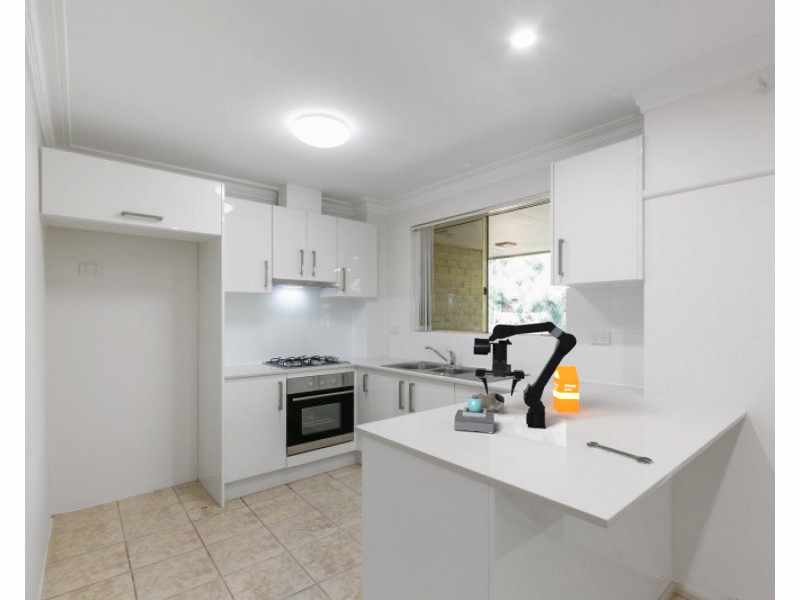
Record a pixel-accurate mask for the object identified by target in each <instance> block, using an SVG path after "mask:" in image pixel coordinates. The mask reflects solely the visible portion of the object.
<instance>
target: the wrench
mask: <svg viewBox="0 0 800 600" xmlns="http://www.w3.org/2000/svg"><path fill="white" fill-rule="evenodd" d="M586 447H588V448H592V449H599V450H601V451H604V450H605V452H608V453H611V452H612V454H614V453H615V454H614V455H617V454H618V456H620V455H621V456H620V457H625V458H627V459H631V460H634V461H636V462H637V463H638V464H642V465H650V464H653V460H652V459H651V458H650V457H647V456H639V455H636V454H632V453H629V452H626V451H625V452H624V451H622V450H618V449H616V448H612V447H609V446H606V445H602V444H600V443H599V442H595V441H589V442H586Z"/></svg>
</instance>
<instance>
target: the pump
mask: <svg viewBox="0 0 800 600" xmlns="http://www.w3.org/2000/svg"><path fill="white" fill-rule="evenodd" d="M477 395H478V394H474V395H472V396H470V397H467V398H468V399H467V404H468V405H467V407H468V412H476V413H482V398H479V397H478V396H477Z"/></svg>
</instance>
